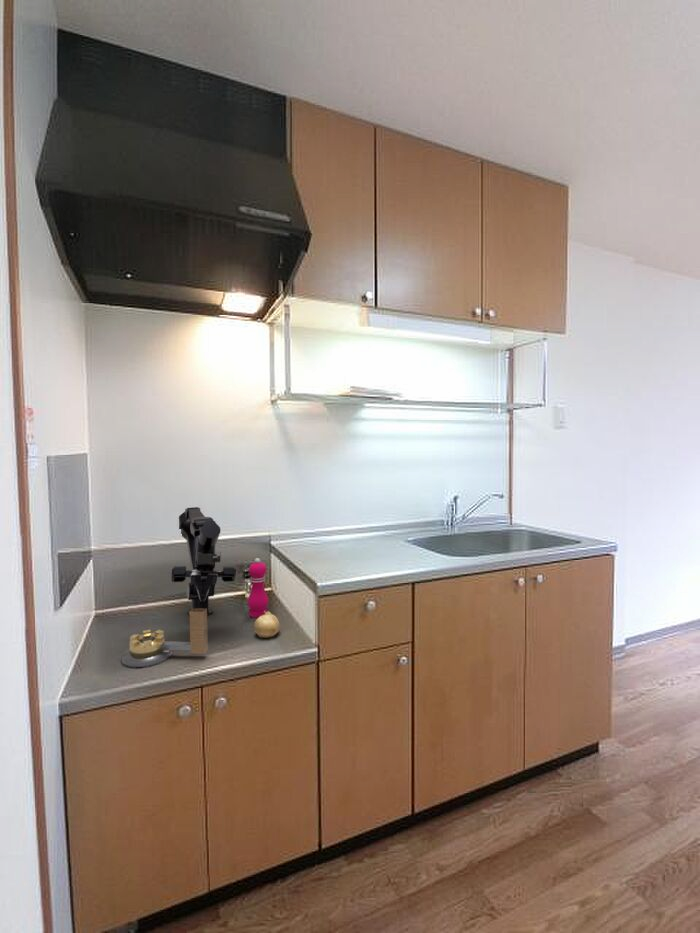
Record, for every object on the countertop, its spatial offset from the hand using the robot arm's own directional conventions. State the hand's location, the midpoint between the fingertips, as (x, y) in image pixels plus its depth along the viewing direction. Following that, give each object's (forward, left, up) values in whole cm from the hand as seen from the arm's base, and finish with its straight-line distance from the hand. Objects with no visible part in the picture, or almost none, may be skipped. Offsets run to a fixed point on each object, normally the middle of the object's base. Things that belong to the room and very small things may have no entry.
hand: (202, 600), depth 131 cm
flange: (-3, -15, -13) cm, 20 cm away
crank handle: (+1, -11, -11) cm, 16 cm away
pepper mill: (-9, +24, -13) cm, 29 cm away
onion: (+7, +18, -14) cm, 23 cm away
